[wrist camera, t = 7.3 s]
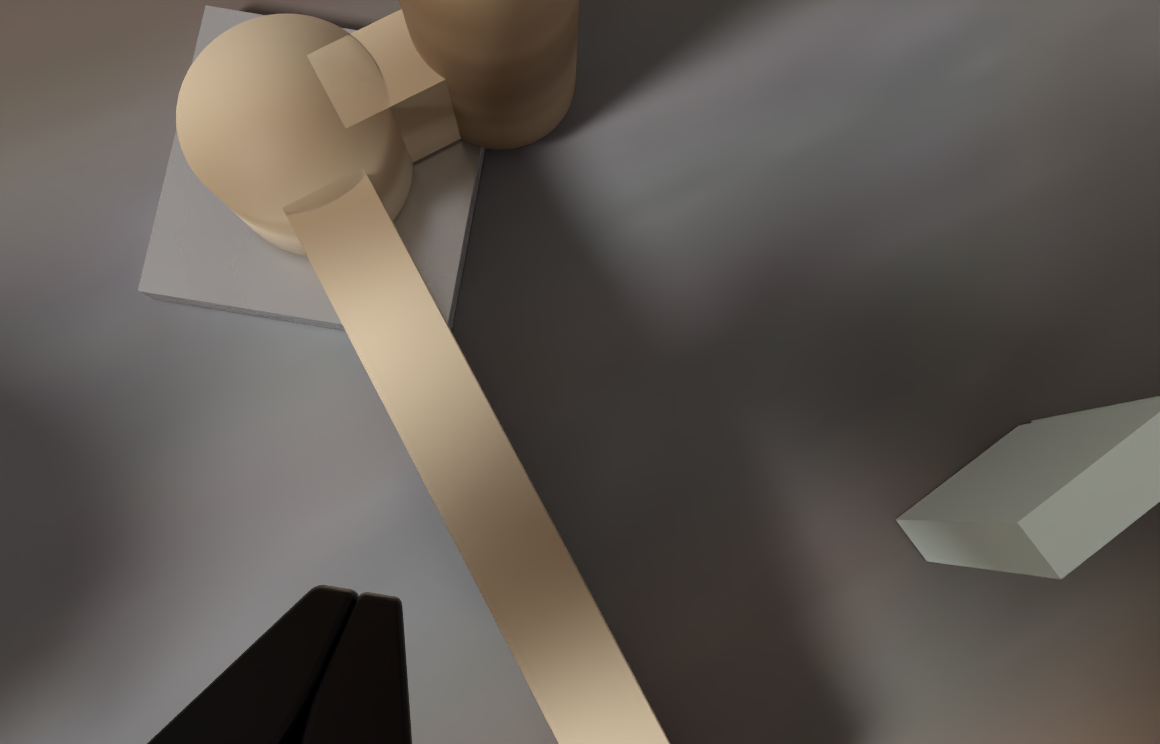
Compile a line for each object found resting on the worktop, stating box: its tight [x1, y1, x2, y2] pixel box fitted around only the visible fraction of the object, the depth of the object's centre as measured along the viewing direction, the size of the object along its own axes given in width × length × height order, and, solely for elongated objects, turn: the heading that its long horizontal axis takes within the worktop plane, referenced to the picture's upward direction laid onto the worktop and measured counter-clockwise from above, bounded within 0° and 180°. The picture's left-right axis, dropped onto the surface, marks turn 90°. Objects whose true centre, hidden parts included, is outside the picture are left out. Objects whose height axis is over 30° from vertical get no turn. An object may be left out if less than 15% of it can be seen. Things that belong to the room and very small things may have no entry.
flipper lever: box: [176, 0, 670, 744], centre depth 11 cm, size 17×7×14 cm, turn 28°
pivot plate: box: [138, 6, 485, 331], centre depth 19 cm, size 6×6×1 cm
